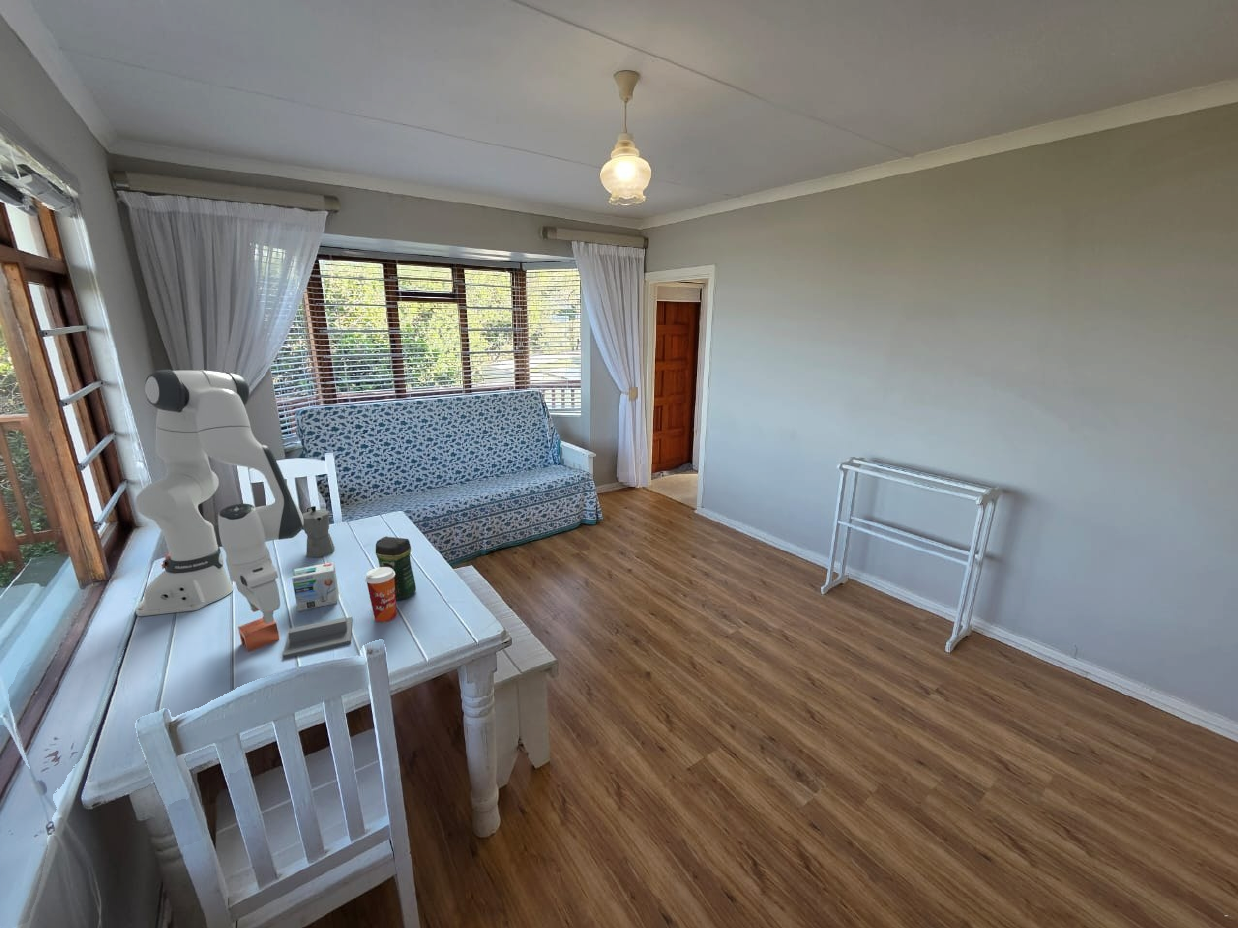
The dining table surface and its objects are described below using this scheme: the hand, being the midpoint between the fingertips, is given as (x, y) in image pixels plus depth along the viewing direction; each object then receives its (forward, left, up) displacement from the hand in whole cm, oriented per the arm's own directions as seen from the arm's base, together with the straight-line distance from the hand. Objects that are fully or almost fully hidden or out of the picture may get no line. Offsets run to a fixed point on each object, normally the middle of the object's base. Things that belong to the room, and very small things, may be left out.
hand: (262, 615), depth 130 cm
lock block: (-1, 0, -7) cm, 7 cm away
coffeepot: (+8, +56, -7) cm, 57 cm away
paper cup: (+29, -1, -7) cm, 29 cm away
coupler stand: (+13, -5, -7) cm, 15 cm away
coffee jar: (+33, +11, -7) cm, 35 cm away
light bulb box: (+11, +16, -7) cm, 20 cm away
